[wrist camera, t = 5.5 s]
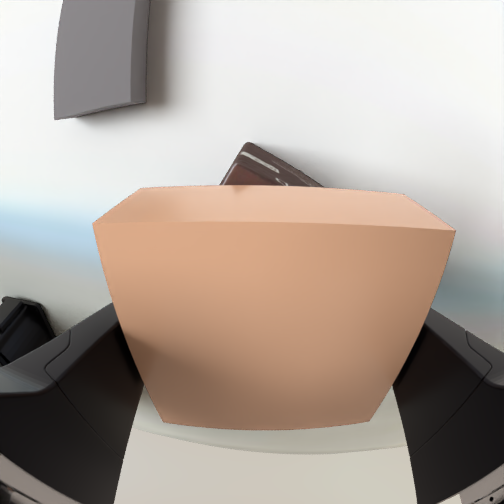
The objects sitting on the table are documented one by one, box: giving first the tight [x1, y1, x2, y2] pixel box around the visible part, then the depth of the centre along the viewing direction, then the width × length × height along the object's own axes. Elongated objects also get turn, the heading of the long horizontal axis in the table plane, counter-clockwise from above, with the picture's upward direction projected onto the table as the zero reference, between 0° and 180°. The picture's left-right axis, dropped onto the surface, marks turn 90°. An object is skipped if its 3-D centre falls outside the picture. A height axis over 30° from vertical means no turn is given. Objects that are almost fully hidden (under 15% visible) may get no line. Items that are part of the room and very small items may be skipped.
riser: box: [54, 0, 150, 120], centre depth 10 cm, size 9×5×2 cm, turn 0°
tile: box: [92, 185, 456, 430], centre depth 7 cm, size 7×7×2 cm
